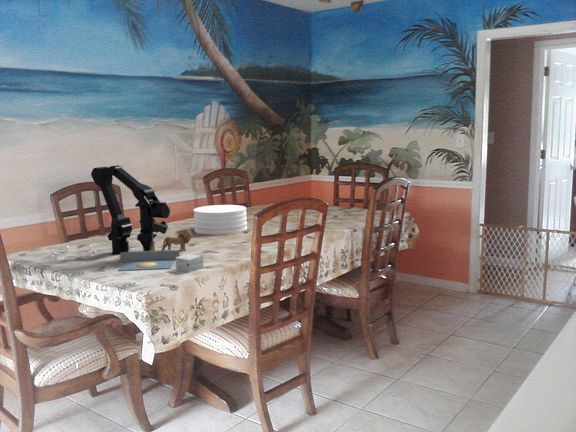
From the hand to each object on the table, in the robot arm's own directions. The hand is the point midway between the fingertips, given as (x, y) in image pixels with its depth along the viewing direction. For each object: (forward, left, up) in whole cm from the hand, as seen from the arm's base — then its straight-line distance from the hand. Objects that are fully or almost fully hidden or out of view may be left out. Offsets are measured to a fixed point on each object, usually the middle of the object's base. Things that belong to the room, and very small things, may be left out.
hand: (149, 252), depth 241 cm
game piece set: (-34, +7, -2) cm, 35 cm away
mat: (+2, -19, -1) cm, 19 cm away
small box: (+20, -26, -2) cm, 33 cm away
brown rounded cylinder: (0, 0, -1) cm, 1 cm away
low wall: (+2, -10, -1) cm, 10 cm away
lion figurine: (+11, +8, -2) cm, 14 cm away
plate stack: (+29, +55, -2) cm, 62 cm away
